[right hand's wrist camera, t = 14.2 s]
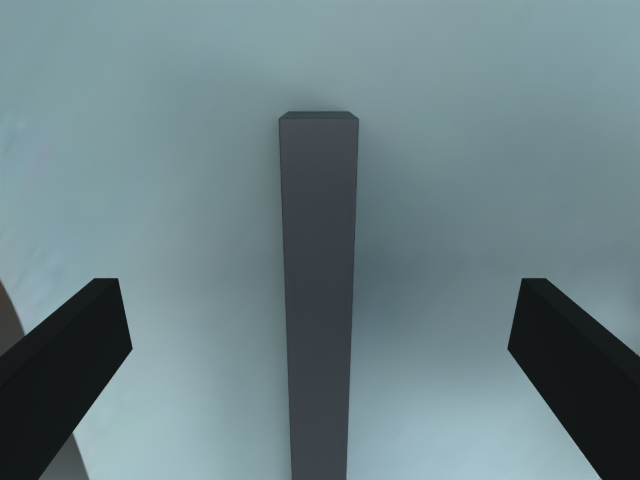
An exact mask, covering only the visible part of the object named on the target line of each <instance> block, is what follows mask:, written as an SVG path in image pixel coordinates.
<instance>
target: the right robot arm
mask: <svg viewBox="0 0 640 480" xmlns="http://www.w3.org/2000/svg"><path fill="white" fill-rule="evenodd" d="M132 349H133V348H132V343H131V339H130V334H129V329H128V324H127V319H126V315H125V310H124V305H123V300H122V295H121V291H120V286H119V281H118V278H94V279H93V280H92V281H91V282H89V283H88V284H87V285H86V286H85V287H83V288H82V289H81V290H80V291H79V292H77V293H76V294H75V295H74V296H73V297H71V298H70V299H69V300H68V301H67V302H65V303H64V304H63V305H62V306H61V307H59V308H58V309H57V310H56V311H55V312H53V313H52V314H51V315H50V316H49V317H47V318H46V319H45V320H44V321H43V322H41V323H40V324H39V325H38V326H37V327H35V328H34V329H33V330H32V331H31V332H29V333H28V334H27V335H26V336H25V337H23V338H22V339H21V340H20V341H19V342H18V343H16V344H15V345H14V346H13V347H12V348H10V349H9V350H8V351H7V352H6V353H4V354H3V355H2V356H1V357H0V480H38V479H39V478H40V476H41V475H42V474H43V472H44V471H45V469H46V468H47V467H48V465H49V464H50V463H51V461H52V460H53V458H54V457H55V456H56V454H57V453H58V451H59V450H60V449H61V447H62V446H63V444H64V443H65V442H66V440H67V439H68V438H69V436H70V435H71V433H72V432H73V431H74V429H75V428H76V427H77V425H78V424H79V422H80V421H81V420H82V418H83V417H84V416H85V414H86V413H87V411H88V410H89V409H90V407H91V406H92V404H93V403H94V402H95V400H96V399H97V398H98V396H99V395H100V393H101V392H102V391H103V389H104V388H105V386H106V385H107V384H108V382H109V381H110V380H111V378H112V377H113V375H114V374H115V373H116V371H117V370H118V369H119V367H120V366H121V364H122V363H123V362H124V360H125V359H126V357H127V356H128V355H129V353H130V352H131V351H132ZM507 349H508V351H509V352H510V353H511V355H512V356H513V357H514V359H515V360H516V362H517V363H518V364H519V366H520V367H521V369H522V370H523V371H524V373H525V374H526V375H527V377H528V378H529V380H530V381H531V382H532V384H533V385H534V386H535V388H536V389H537V391H538V392H539V393H540V395H541V396H542V398H543V399H544V400H545V402H546V403H547V404H548V406H549V407H550V409H551V410H552V411H553V413H554V414H555V416H556V417H557V418H558V420H559V421H560V422H561V424H562V425H563V427H564V428H565V429H566V431H567V432H568V433H569V435H570V436H571V438H572V439H573V440H574V442H575V443H576V445H577V446H578V447H579V449H580V450H581V451H582V453H583V454H584V456H585V457H586V458H587V460H588V461H589V463H590V464H591V465H592V467H593V468H594V469H595V471H596V472H597V474H598V475H599V476H600V478H601V479H602V480H640V357H639V356H638V355H637V354H636V353H635V352H633V351H632V350H631V349H630V348H629V347H627V346H626V345H625V344H624V343H623V342H621V341H620V340H619V339H618V338H617V337H615V336H614V335H613V334H612V333H611V332H609V331H608V330H607V329H606V328H605V327H603V326H602V325H601V324H600V323H599V322H597V321H596V320H595V319H594V318H593V317H591V316H590V315H589V314H588V313H587V312H585V311H584V310H583V309H582V308H581V307H579V306H578V305H577V304H576V303H575V302H573V301H572V300H571V299H570V298H569V297H567V296H566V295H565V294H564V293H563V292H561V291H560V290H559V289H558V288H557V287H555V286H554V285H553V284H552V283H551V282H549V281H548V280H547V279H546V278H522V281H521V286H520V291H519V295H518V300H517V305H516V310H515V315H514V319H513V324H512V329H511V334H510V339H509V343H508V348H507Z"/></svg>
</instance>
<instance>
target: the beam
mask: <svg viewBox="0 0 640 480" xmlns="http://www.w3.org/2000/svg"><path fill="white" fill-rule="evenodd" d="M358 127H359V119H358V118H357V117H356V116H354V115H353V114H351V113H350V112H287V113H286V114H284V115H283V116H282V117H281V118H279V139H280V166H281V194H282V221H283V249H284V277H285V304H286V332H287V359H288V387H289V414H290V442H291V470H292V480H346V469H347V441H348V412H349V384H350V355H351V327H352V298H353V270H354V241H355V213H356V184H357V156H358Z"/></svg>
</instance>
